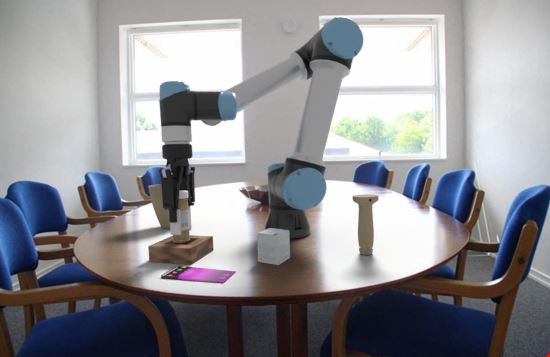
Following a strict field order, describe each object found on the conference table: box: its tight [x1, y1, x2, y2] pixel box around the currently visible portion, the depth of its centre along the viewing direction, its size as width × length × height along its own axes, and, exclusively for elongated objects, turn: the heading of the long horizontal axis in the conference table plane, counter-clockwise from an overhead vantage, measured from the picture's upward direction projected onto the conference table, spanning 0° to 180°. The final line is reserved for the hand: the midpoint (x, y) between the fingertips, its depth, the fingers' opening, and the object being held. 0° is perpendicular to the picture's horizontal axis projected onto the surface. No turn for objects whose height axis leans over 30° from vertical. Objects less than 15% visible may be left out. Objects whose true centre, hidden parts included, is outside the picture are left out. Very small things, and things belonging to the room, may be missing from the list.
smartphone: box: [160, 265, 237, 284], centre depth 74 cm, size 7×15×1 cm, turn 74°
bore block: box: [148, 234, 214, 266], centre depth 88 cm, size 12×12×4 cm
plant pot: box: [147, 183, 170, 230], centre depth 125 cm, size 15×15×16 cm
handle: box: [352, 193, 379, 256], centre depth 84 cm, size 5×6×15 cm
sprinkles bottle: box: [172, 190, 191, 243], centre depth 87 cm, size 5×5×14 cm
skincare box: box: [256, 228, 291, 266], centre depth 82 cm, size 6×6×7 cm
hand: (181, 232), depth 88 cm, fingers closed on sprinkles bottle, 4 cm apart
